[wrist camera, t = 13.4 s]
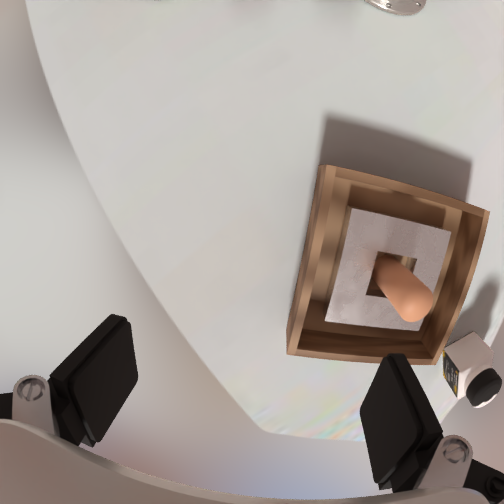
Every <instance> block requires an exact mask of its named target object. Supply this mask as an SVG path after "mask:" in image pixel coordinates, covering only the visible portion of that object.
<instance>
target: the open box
mask: <svg viewBox="0 0 504 504" xmlns="http://www.w3.org/2000/svg"><path fill="white" fill-rule="evenodd" d="M347 205H348V206H353V207H358V208H363V209H367V210H372V211H376V212H381V213H385V214H390V215H394V216H398V217H402V218H406V219H410V220H414V221H418V222H422V223H426V224H430V225H434V226H438V227H441V228H444V229H446V230H448V231H450V232H451V235H450V239H449V243H448V247H447V251H446V254H445V258H444V261H443V265H442V268H441V271H440V274H439V277H438V281H437V284H436V287H435V289H434V292H433V304H432V307H431V309H430V311H429V312H428V314H427V315H426V316H425V317H424V319H423V322H422V324H421V326H420V329H419V331H413V330H401V329H390V328H380V327H371V326H362V325H353V324H344V323H336V322H329V321H324V317H323V313H322V310H323V307H324V303H325V299H326V296H327V292H328V288H329V284H330V280H331V276H332V272H333V268H334V264H335V259H336V255H337V251H338V246H339V242H340V237H341V233H342V228H343V223H344V218H345V213H346V208H347ZM489 214H490V211H487V210H484V209H482V208H479V207H476V206H474V205H471V204H468V203H465V202H463V201H460V200H457V199H454V198H451V197H448V196H445V195H442V194H439V193H436V192H433V191H429V190H426V189H423V188H419V187H416V186H413V185H409V184H406V183H402V182H399V181H395V180H391V179H387V178H384V177H380V176H376V175H372V174H368V173H363V172H359V171H355V170H350V169H346V168H341V167H337V166H332V165H327V164H326V165H319V167H318V174H317V180H316V186H315V191H314V197H313V203H312V209H311V214H310V220H309V225H308V230H307V235H306V241H305V246H304V251H303V256H302V261H301V265H300V270H299V275H298V280H297V284H296V289H295V294H294V298H293V303H292V307H291V311H290V316H289V320H288V324H287V329H286V336H287V355H295V356H302V357H311V358H319V359H329V360H339V361H351V362H364V363H381V361H382V359H383V358H384V357H387V355H388V354H389V353H403V354H404V355H405V356H406V358H407V360H408V362H409V364H410V365H436V363H437V361H438V359H439V357H440V355H441V353H442V351H443V349H444V347H445V345H446V343H447V341H448V339H449V336H450V334H451V332H452V330H453V328H454V325H455V323H456V321H457V318H458V316H459V313H460V311H461V308H462V306H463V303H464V301H465V298H466V295H467V292H468V290H469V287H470V284H471V281H472V278H473V275H474V272H475V269H476V265H477V262H478V259H479V255H480V251H481V248H482V244H483V240H484V236H485V232H486V228H487V223H488V219H489ZM383 255H391V256H393V257H395V258H396V259H397V260H398V261H399V262H400V263H401V264H403V265H404V266H405V267H406V263H407V260H408V257H407V256H401V255H396V254H391V253H386V252H381V251H378V252H377V256H376V260H377V259H378V258H379V257H381V256H383ZM376 260H375V261H376ZM368 288H371V289H377V290H381V289H380V287H379V286H378V285H377V283H376V282H375V281H374V279H373V278H372V275H371V278H370V282H369V285H368Z"/></svg>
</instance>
